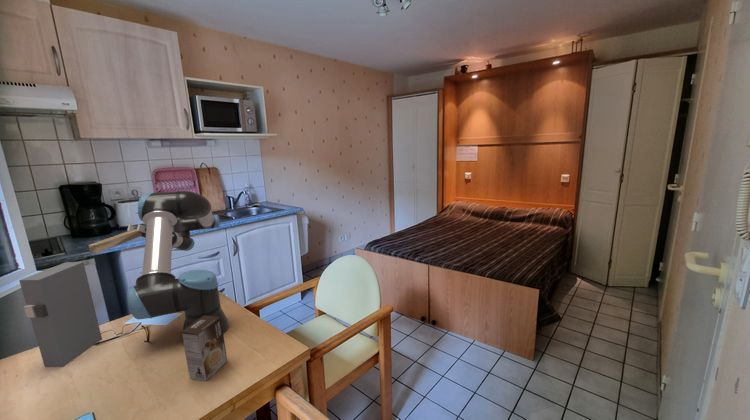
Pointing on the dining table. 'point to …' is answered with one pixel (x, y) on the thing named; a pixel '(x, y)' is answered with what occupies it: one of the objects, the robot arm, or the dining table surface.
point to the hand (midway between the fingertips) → (133, 227)
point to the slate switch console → (61, 312)
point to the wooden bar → (115, 241)
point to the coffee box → (204, 347)
